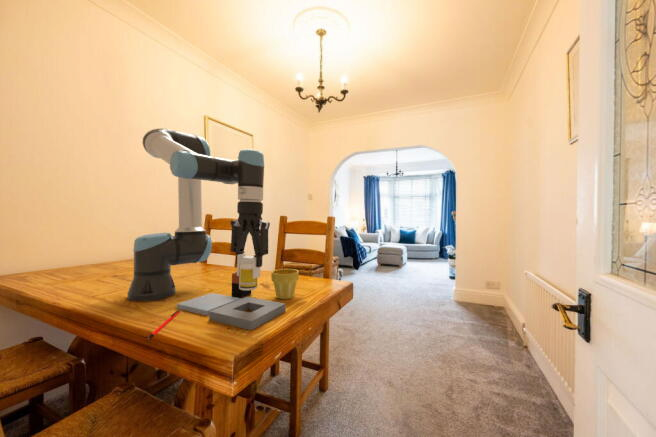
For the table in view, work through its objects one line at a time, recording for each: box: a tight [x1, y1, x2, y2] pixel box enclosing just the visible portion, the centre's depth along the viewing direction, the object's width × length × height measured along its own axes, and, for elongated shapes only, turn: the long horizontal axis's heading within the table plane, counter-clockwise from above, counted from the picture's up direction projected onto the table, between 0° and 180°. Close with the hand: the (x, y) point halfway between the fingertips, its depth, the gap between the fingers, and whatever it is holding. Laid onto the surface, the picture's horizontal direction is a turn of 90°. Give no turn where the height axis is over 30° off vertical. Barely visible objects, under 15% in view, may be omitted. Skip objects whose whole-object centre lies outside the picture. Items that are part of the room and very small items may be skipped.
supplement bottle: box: [239, 255, 258, 291], centre depth 82 cm, size 5×5×10 cm
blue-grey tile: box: [176, 292, 240, 317], centre depth 90 cm, size 14×14×2 cm
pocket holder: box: [208, 296, 286, 331], centre depth 81 cm, size 16×16×2 cm
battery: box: [231, 271, 252, 299], centre depth 101 cm, size 4×7×10 cm, turn 159°
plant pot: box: [270, 268, 300, 300], centre depth 101 cm, size 10×10×10 cm
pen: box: [147, 310, 181, 340], centre depth 74 cm, size 1×19×1 cm, turn 9°
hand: (248, 275), depth 82 cm, fingers closed on supplement bottle, 5 cm apart
